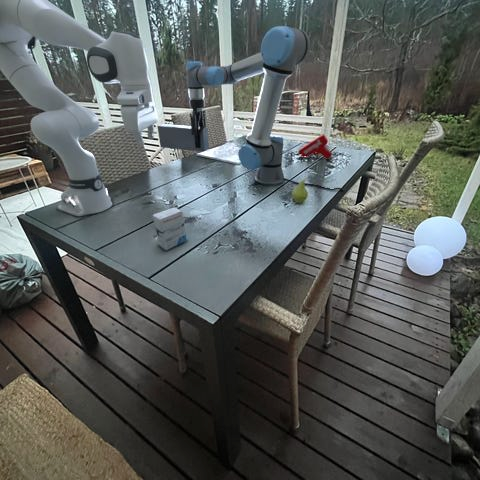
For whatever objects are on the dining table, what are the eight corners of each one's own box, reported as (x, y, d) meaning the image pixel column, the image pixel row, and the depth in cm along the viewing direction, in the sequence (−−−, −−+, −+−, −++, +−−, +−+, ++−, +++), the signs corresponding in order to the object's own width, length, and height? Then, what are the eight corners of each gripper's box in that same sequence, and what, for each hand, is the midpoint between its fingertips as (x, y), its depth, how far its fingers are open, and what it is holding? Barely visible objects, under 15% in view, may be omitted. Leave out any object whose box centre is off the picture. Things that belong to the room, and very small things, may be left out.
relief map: (237, 164, 168) (237, 156, 165) (197, 155, 185) (196, 147, 183) (261, 154, 186) (262, 147, 183) (222, 147, 204) (222, 140, 201)
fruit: (288, 200, 123) (290, 174, 116) (302, 197, 125) (305, 172, 119) (296, 206, 118) (299, 179, 111) (310, 203, 120) (314, 177, 114)
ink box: (179, 235, 98) (174, 206, 91) (187, 241, 95) (183, 210, 88) (158, 245, 93) (151, 214, 86) (165, 250, 90) (159, 219, 83)
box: (209, 148, 150) (207, 127, 143) (204, 151, 145) (203, 129, 139) (166, 144, 157) (163, 124, 151) (160, 147, 152) (157, 126, 146)
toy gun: (335, 153, 174) (324, 133, 170) (335, 155, 171) (323, 134, 167) (310, 168, 184) (299, 149, 180) (310, 170, 181) (298, 151, 177)
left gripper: (140, 92, 93) (148, 135, 101) (113, 99, 76) (125, 149, 84) (158, 92, 93) (164, 135, 100) (135, 99, 76) (145, 149, 83)
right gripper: (198, 96, 143) (201, 141, 156) (180, 100, 128) (186, 150, 141) (211, 96, 141) (213, 142, 154) (195, 100, 126) (199, 151, 139)
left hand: (146, 141), depth 92 cm, fingers open, 8 cm apart
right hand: (200, 146), depth 147 cm, fingers closed on box, 6 cm apart
